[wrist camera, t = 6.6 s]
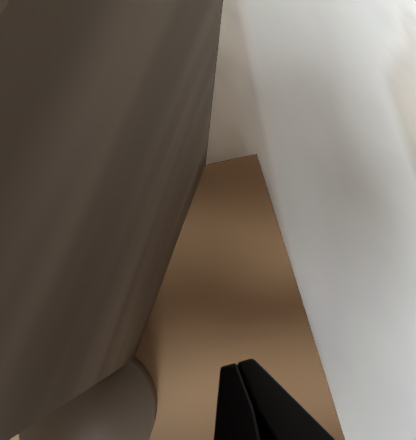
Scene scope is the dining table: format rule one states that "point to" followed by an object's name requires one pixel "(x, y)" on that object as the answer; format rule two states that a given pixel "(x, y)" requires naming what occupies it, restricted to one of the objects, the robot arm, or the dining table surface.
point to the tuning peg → (93, 201)
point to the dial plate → (229, 308)
